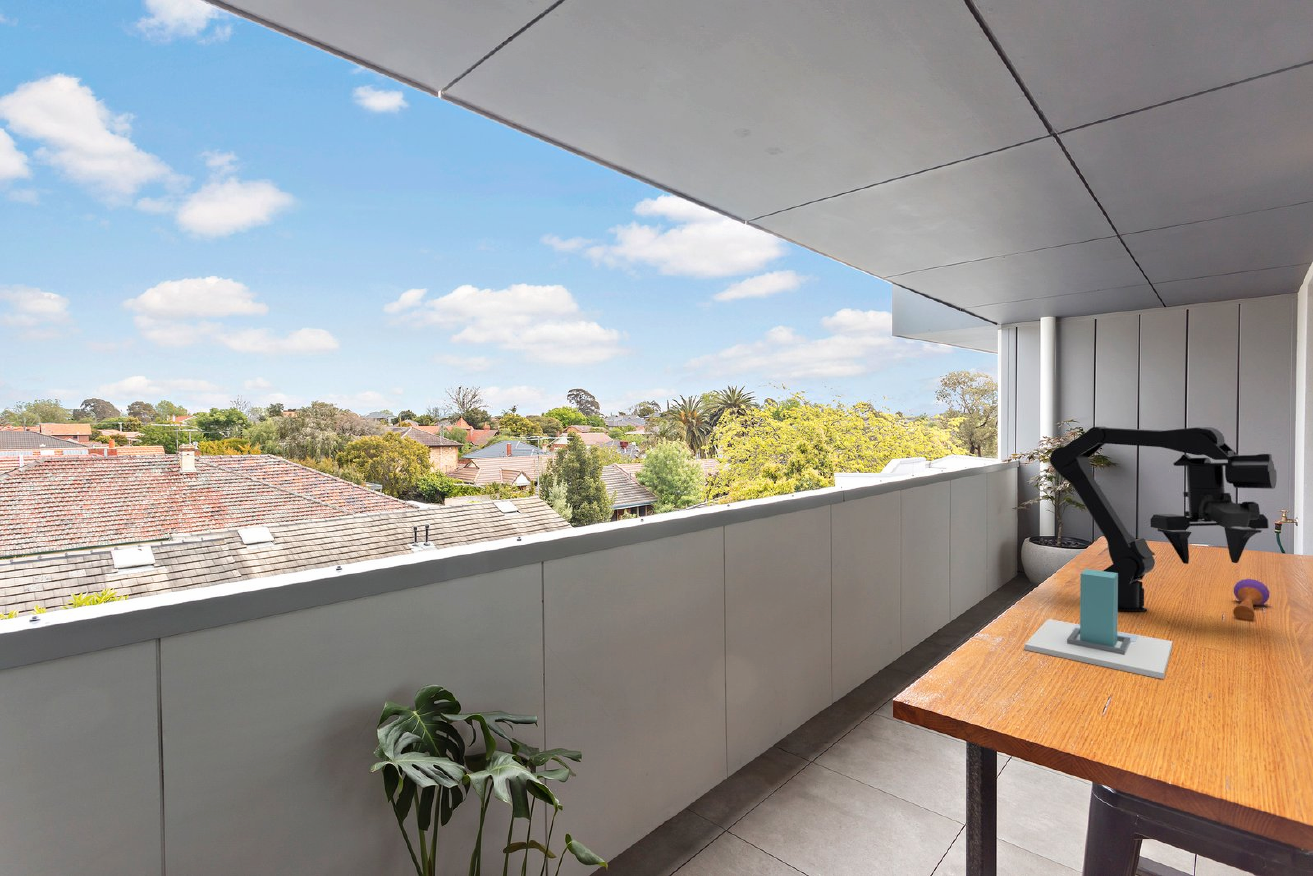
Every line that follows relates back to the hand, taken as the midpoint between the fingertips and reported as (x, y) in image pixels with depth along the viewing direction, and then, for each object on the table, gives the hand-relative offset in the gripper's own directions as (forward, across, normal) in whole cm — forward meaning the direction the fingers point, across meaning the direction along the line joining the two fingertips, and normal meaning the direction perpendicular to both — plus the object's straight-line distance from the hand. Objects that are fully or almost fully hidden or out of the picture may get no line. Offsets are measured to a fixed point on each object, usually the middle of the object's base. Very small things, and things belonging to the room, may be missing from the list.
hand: (1210, 563), depth 128 cm
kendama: (+13, +16, +12) cm, 24 cm away
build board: (+12, -31, -16) cm, 37 cm away
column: (+11, -31, -16) cm, 36 cm away
